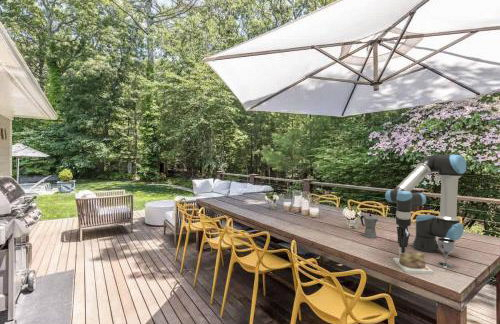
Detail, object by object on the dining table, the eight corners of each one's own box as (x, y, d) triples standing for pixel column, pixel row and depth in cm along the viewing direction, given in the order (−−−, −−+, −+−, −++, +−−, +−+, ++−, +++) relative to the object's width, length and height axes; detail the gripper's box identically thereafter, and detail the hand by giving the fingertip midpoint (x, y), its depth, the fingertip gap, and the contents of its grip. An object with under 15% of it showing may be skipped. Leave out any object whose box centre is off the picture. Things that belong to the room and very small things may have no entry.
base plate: (417, 261, 167) (417, 257, 167) (433, 274, 149) (433, 270, 149) (393, 260, 168) (393, 256, 168) (406, 272, 151) (406, 269, 151)
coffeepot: (381, 237, 213) (381, 214, 212) (374, 239, 208) (374, 216, 207) (363, 232, 226) (363, 211, 225) (356, 234, 220) (356, 212, 220)
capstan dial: (414, 258, 166) (414, 248, 166) (431, 267, 153) (432, 256, 153) (393, 260, 164) (393, 250, 164) (409, 269, 151) (409, 258, 151)
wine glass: (442, 267, 157) (442, 241, 157) (435, 262, 165) (435, 237, 164) (457, 268, 156) (457, 242, 155) (449, 262, 164) (449, 238, 163)
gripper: (392, 214, 165) (391, 252, 166) (400, 220, 152) (399, 261, 154) (405, 215, 164) (404, 253, 165) (415, 221, 151) (413, 262, 153)
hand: (402, 257), depth 160 cm, fingers closed
